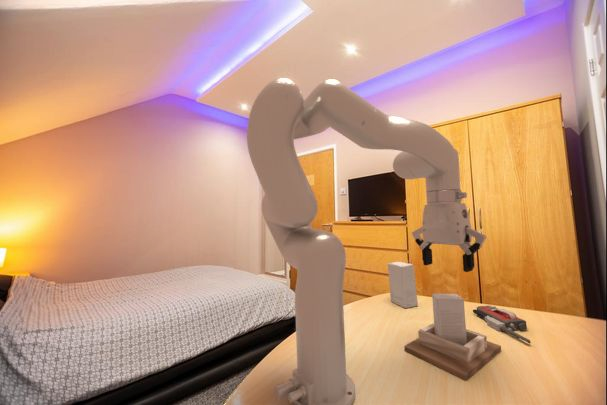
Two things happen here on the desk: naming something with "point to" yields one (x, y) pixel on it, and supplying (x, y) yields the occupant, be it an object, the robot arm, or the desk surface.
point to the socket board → (453, 352)
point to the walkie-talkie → (502, 320)
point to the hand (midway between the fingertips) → (446, 267)
